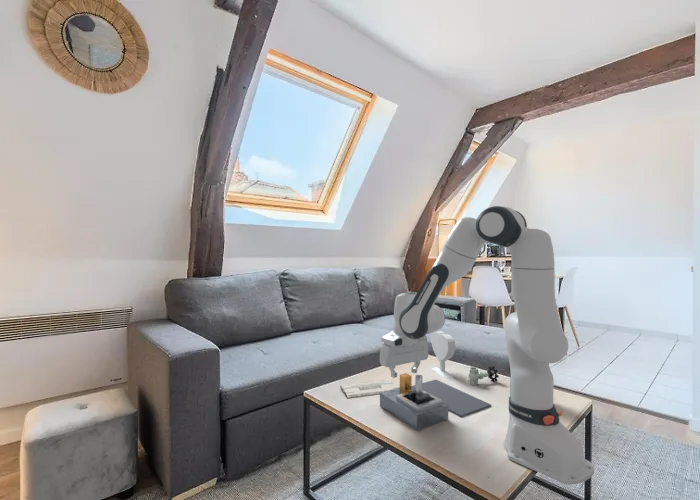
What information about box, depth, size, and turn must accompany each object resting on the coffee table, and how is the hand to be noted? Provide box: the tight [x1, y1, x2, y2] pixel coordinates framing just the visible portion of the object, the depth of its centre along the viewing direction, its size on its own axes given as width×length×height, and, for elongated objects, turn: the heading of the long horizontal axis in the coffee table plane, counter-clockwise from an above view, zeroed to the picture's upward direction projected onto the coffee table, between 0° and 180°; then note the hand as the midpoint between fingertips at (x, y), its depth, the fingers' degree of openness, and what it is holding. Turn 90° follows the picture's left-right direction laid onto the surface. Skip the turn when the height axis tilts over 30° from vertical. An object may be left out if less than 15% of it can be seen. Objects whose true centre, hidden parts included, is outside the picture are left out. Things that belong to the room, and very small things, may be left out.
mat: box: [412, 379, 492, 418], centre depth 141 cm, size 28×16×1 cm, turn 31°
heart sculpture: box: [430, 330, 456, 379], centre depth 167 cm, size 16×5×18 cm, turn 15°
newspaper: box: [339, 379, 398, 399], centre depth 148 cm, size 23×12×2 cm, turn 107°
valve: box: [468, 365, 500, 386], centre depth 155 cm, size 7×7×12 cm
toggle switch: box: [379, 374, 449, 431], centre depth 128 cm, size 20×14×14 cm
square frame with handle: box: [396, 372, 442, 412], centre depth 126 cm, size 14×11×7 cm
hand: (404, 374), depth 131 cm, fingers open, 8 cm apart
